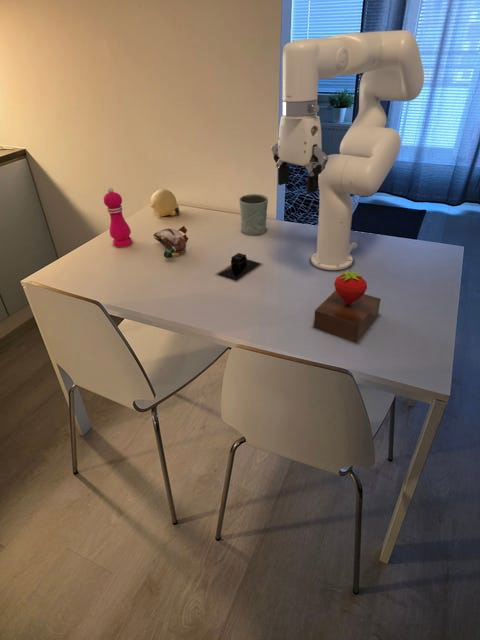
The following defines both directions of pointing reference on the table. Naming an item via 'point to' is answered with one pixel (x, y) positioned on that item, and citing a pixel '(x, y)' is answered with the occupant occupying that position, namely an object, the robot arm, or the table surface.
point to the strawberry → (350, 286)
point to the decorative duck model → (172, 241)
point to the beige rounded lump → (164, 203)
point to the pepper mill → (117, 220)
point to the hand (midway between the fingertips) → (297, 187)
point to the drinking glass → (253, 213)
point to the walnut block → (346, 316)
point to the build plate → (238, 267)
